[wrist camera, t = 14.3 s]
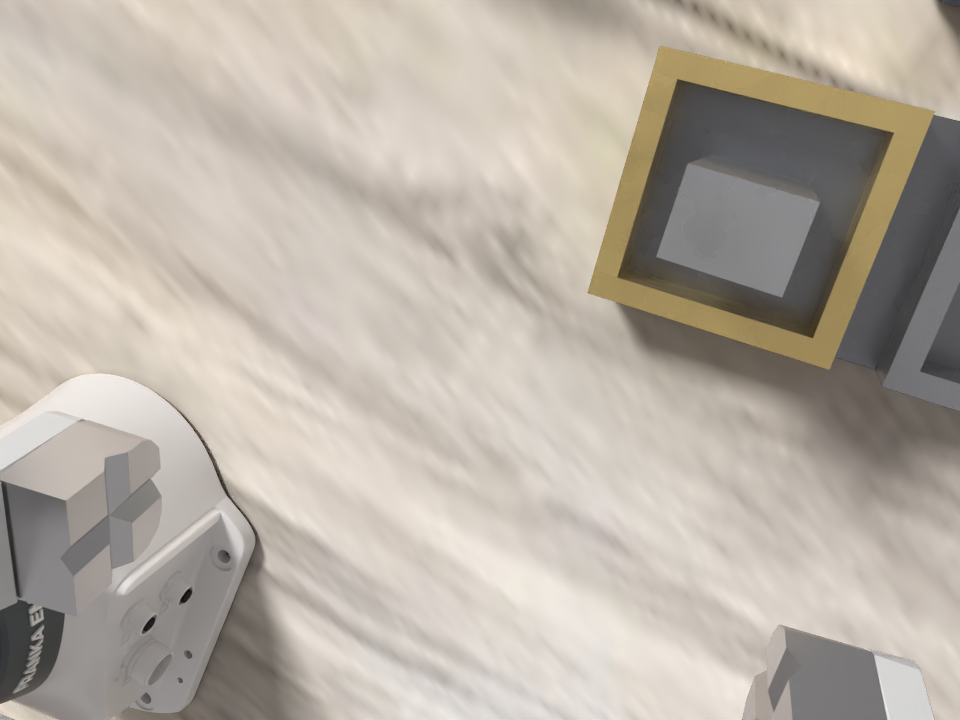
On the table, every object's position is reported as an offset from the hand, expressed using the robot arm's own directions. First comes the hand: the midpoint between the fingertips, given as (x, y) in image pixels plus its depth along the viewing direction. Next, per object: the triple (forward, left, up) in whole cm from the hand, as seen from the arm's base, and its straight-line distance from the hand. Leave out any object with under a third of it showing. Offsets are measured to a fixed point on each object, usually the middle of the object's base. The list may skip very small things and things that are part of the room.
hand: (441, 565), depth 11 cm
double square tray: (+3, -8, -29) cm, 30 cm away
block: (+3, -2, -28) cm, 28 cm away
